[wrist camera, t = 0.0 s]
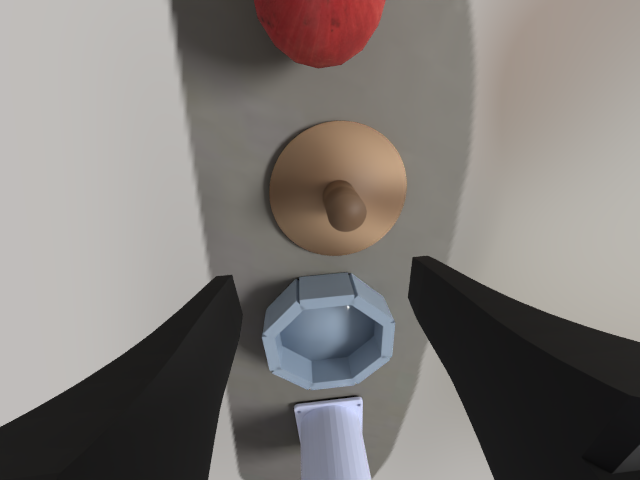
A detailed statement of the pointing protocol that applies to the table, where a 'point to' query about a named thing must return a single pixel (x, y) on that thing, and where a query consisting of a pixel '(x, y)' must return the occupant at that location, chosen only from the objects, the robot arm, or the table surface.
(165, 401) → the robot arm
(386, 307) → the bowl
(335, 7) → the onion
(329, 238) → the lid
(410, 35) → the table surface
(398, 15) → the table surface
